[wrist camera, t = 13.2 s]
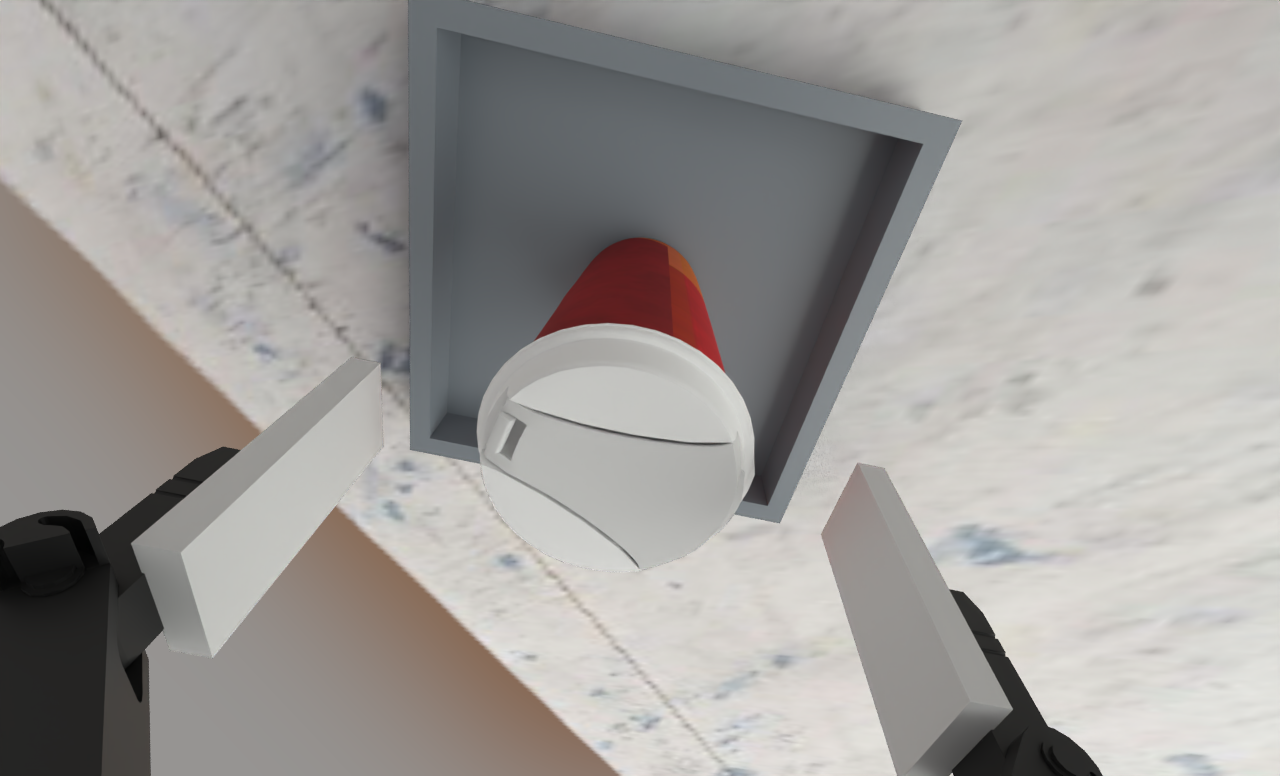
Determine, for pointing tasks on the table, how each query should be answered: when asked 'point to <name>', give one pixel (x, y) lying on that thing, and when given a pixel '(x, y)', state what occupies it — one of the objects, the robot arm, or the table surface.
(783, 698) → the table surface
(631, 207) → the tray
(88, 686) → the robot arm
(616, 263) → the paper cup
